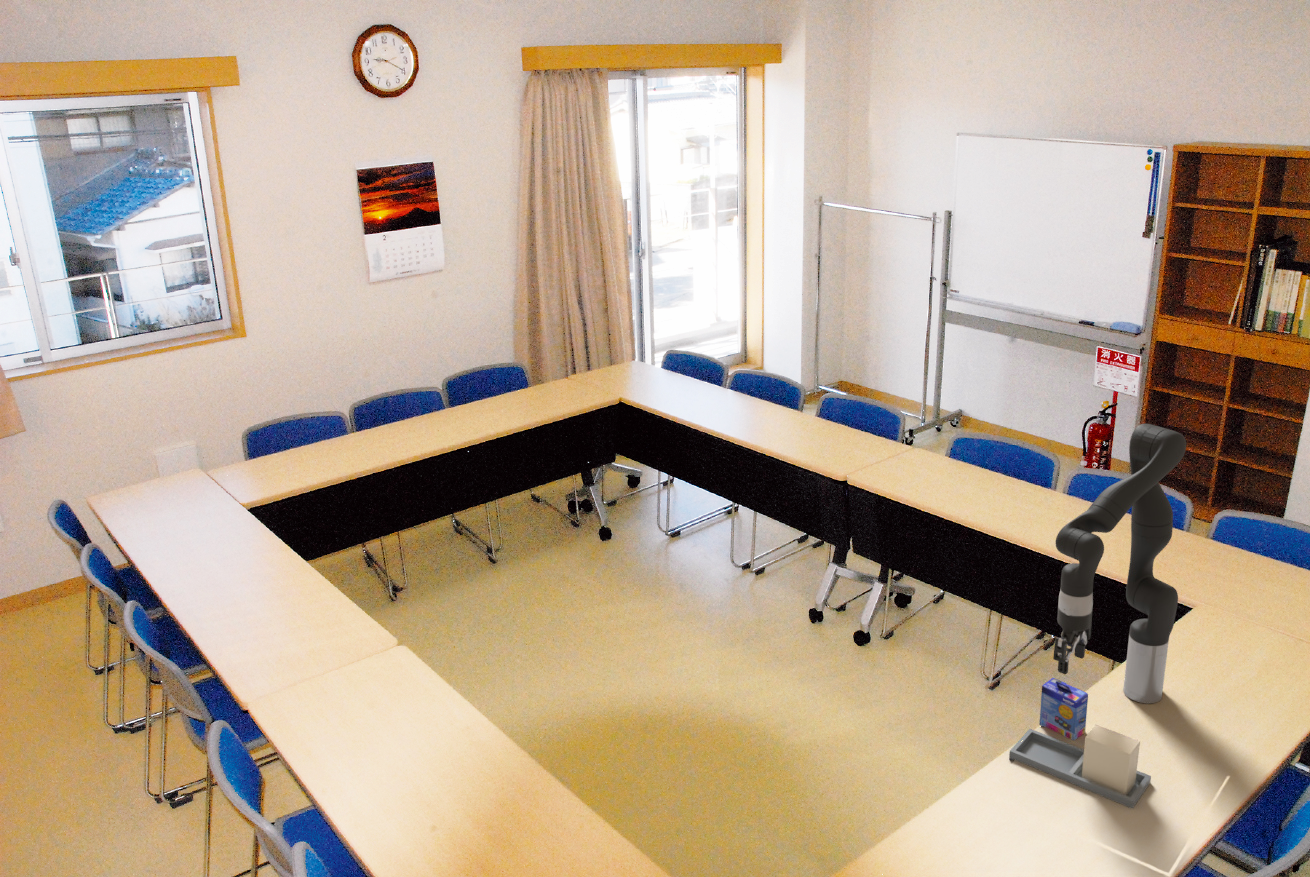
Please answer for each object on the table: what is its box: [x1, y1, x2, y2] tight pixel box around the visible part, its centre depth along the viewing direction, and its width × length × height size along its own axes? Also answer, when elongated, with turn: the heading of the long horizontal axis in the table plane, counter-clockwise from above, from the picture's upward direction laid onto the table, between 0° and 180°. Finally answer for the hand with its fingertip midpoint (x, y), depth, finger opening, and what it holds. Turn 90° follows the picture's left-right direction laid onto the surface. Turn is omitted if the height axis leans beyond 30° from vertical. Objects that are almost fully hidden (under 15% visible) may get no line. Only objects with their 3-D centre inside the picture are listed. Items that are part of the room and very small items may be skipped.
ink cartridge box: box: [1039, 677, 1089, 741], centre depth 259 cm, size 10×6×14 cm, turn 38°
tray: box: [1008, 728, 1152, 810], centre depth 247 cm, size 11×29×2 cm, turn 47°
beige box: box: [1082, 724, 1141, 796], centre depth 240 cm, size 6×10×12 cm, turn 47°
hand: (1071, 664), depth 253 cm, fingers open, 8 cm apart
